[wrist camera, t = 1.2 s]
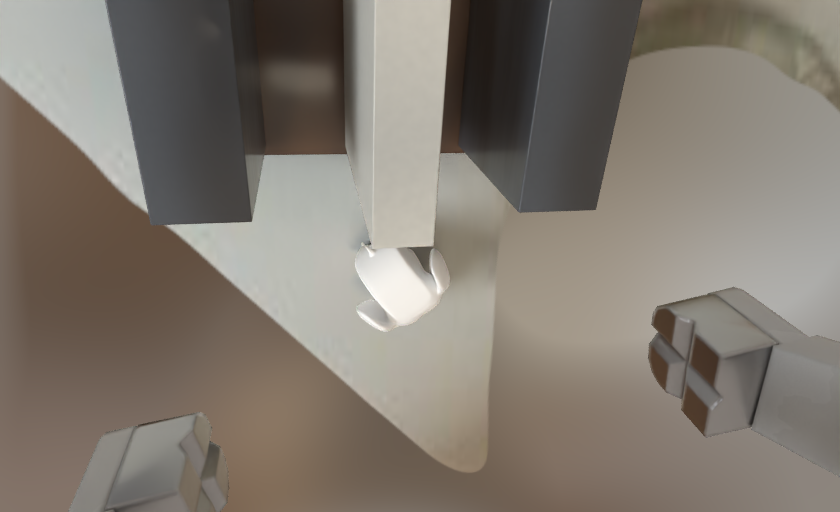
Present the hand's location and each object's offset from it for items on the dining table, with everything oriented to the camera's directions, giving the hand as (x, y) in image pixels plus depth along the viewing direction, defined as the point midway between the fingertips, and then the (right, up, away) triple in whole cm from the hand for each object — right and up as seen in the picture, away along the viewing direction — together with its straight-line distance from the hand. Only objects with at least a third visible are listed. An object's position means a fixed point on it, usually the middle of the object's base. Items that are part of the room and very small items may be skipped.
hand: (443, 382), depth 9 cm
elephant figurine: (-3, +2, +29) cm, 29 cm away
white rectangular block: (-4, +14, +21) cm, 26 cm away
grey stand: (-4, +14, +22) cm, 27 cm away
